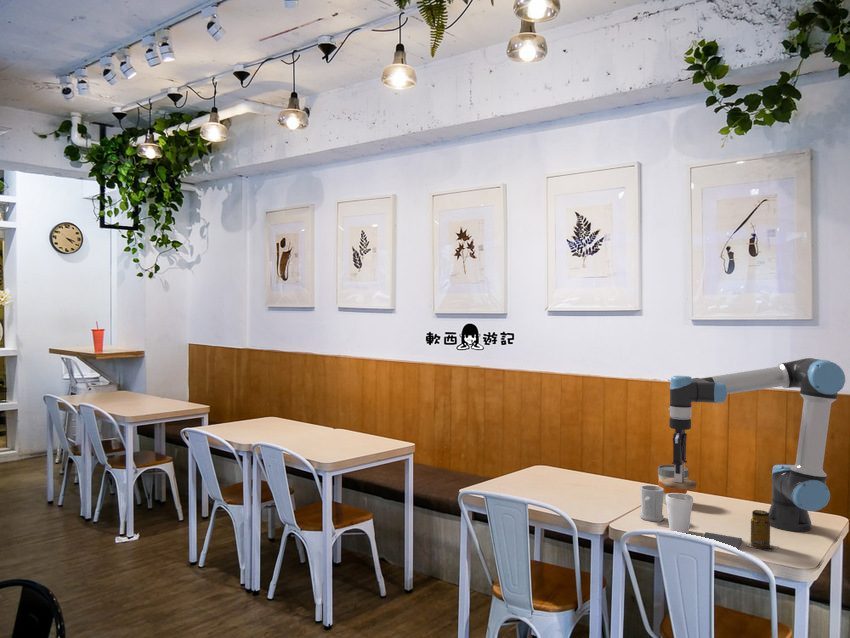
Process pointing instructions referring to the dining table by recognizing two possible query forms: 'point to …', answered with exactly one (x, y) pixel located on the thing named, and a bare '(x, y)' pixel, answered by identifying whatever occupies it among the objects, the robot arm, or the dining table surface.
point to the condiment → (761, 531)
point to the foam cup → (679, 511)
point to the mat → (724, 539)
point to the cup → (651, 503)
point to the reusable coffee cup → (668, 472)
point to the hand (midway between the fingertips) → (679, 481)
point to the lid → (684, 485)
